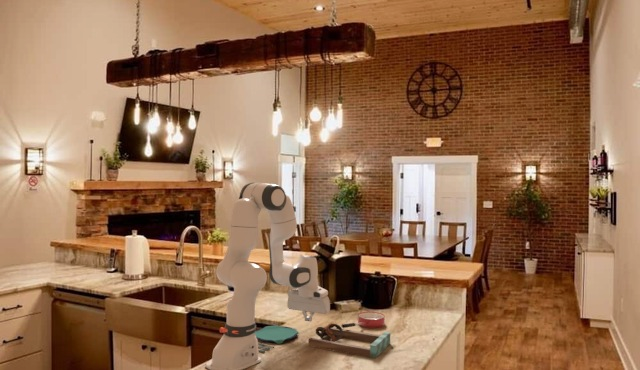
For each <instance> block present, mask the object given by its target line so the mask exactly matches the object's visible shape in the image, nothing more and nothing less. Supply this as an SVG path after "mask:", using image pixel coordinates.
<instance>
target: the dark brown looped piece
mask: <svg viewBox="0 0 640 370" xmlns="http://www.w3.org/2000/svg"><path fill="white" fill-rule="evenodd" d="M331 328H337V329H339V330H340V331H341V333H340V334H335V336H333V332H331V331H330V329H331ZM342 329H343V328H342V326H340V325H339V324H337V323H334V322H333V323H329V324H327V325H326V326H324V327H323V326H318V327H316V328H315V333H316V335H317V336H318V337H319V338H320V339H321V340H323V339H324V337H330V341H333V342H338V341H339V340H341V339H342V338H343V337H342V335H343V334H342V332H343V330H342Z"/></svg>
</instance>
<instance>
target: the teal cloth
mask: <svg viewBox="0 0 640 370" xmlns="http://www.w3.org/2000/svg"><path fill="white" fill-rule="evenodd" d="M255 335H256V338H257V340H258V341H259V340H260V341H262V342H267V343H276V345H281V344H283V343H284V341H285V342H286V341H289V340H293V339H294V338H296V336H298V335H299V330H297V329H296V328H294V327H289V326H284V325H283V326H282V325H278V324H277V325H267V326H264V327H262V328H259V329H257V330H256V331H255ZM262 342H261V343H260V342H258V352H259V353H263V354H265V353H266V350H267V351H270V349H271V348H273V349H275V346H273V345H267V344H265V343H262ZM263 349H264V350H263Z"/></svg>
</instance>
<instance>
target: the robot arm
mask: <svg viewBox="0 0 640 370" xmlns="http://www.w3.org/2000/svg"><path fill="white" fill-rule="evenodd" d="M261 211H267V213H268V218H269V223H270V232H269V234H268V249H269V263H270V264H269V271H268V274H267V272H266V270H265V269H264V268H263V267H261V266H260V265H258V264H257V263H254V262H249V258H250V254H251V253H252V251H253V250H255V249H256V248H257V245H258V229H259V216H260V215H259V214H260V212H261ZM295 213H296V212H295V209H294V206H293V202H292V200H291V198H290V196H289V195H287V194H286V192H285V190H284V189H283V187H281V186H280V185H278V184H275V183H268V182H267V183H266V182H249V183H247V184H245V185H244V186H242V188H241V190H240V193H239V197H238V199H237V200H236V201H235V202H234V203H233V206H232V211H231V215H230V221H229V223H230V224H229V225H230V226H229V237H228V246H227V248H226V252H225V255H224V256H223V259H222V260H220V261H219V263H218V264H217V266H216V270H215V274H216V277H217V279H218V280H219V281H220V282H221V283H223V284H224V285H225V286H229V287H231V288H233V295H232V298H231V299H229V300H228V302H227V304H226V322H225V325H224V327H223V326H222V327H220V328H219V333H221V334H222V333H223V335H222V336H221V338H220V339H219V341H218V342H217V344H216V345H215V347H214V348H213V349H212V350H213V351H212V354H211V355H212V357H211V359H210V360H209V361H207V362H206V363H205V368H207V369H208V370H245V369H247V368H249V367H252V366H253V365H257V364H258V363H261V361H262V357H260V354H259V353H260V352H258V350H259V348H258V346H259V345H258V343H259V342H258V341H259V340H258V339H257V338H256V335H255V332H256V331H257V330H256V329H257V323H256V321H255V315H256V314H255V312H256V301H257V297H258V295H259V292H260V291H261V290H262V289H263V288H264V287H265V286H266V283H267V280H268V276H267V275H269V279H270V281H271V283H272V284H274V285H278V286H279V285H280V286H284V287H289V288H290V289H289V290H288V291H287V303H286V304H287V305H286V307H287V308H288V310H293V311H298V312H299V311H301V313H302V315H303V317H304V322H313V317H314V315H315V314H321V315H327V314H328V313H329V312H330V310H331V301H330V298H329V296H328V295H329V291H328V290H327V289H325V288H323V287H321V286H319V282H318V275H319V272H318V271H319V269H318V268H319V267H318V260H317V258H316V256H313V255H309V254H308V255H307V254H301V255H299V257H298V259H297V260H296V261H295V262H294V263H293V264H291V263H287V262H286V260H285V259H284V248H283V247H284V242H285V241H287V240H290V238H292V237H293V236H294V235H295V234H296V233H297V232H296V231H297V228H298V227H297V224H298V223H297V218H296V214H295ZM308 313H309V315H310V316H308Z"/></svg>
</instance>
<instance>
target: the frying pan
mask: <svg viewBox="0 0 640 370" xmlns="http://www.w3.org/2000/svg"><path fill="white" fill-rule="evenodd" d="M385 316H386V315H385V314H384V313H382V312H377V311H363V312H359V313H358V314H357V322H356V323H355V322H350V323H346V324H345V323H344V324H343V323H342V324H341V328H342V329H345V328H352V327H356V326H360V327H362V328H366V329H367V328H368V329H379V328H382V327H384V326H385V322H386V321H385V319H386V317H385Z"/></svg>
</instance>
